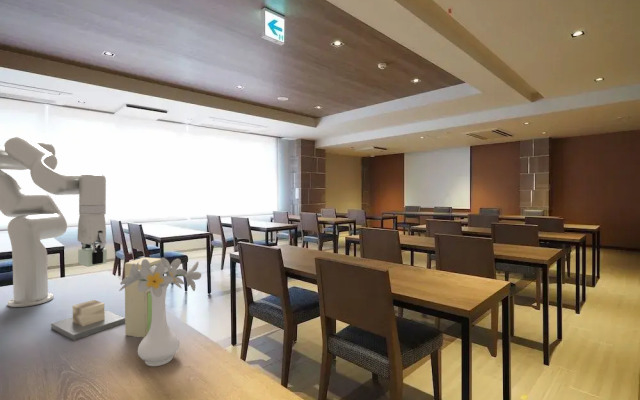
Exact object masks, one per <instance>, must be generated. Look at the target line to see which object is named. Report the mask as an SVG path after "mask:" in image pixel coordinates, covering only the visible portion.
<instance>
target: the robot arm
mask: <svg viewBox="0 0 640 400" xmlns="http://www.w3.org/2000/svg"><path fill="white" fill-rule="evenodd" d="M57 165H58V159H57V157H56V150H55V147H54V145H53V144H52V143H51V142H50V141H47V140H45V139H39V138H33V137H32V138H31V137H23V136H16V137H12V138H8V139H7V140H6V142H4V145H3V146H1V145H0V212H1V213H2V214H3V215H4V216H6V217H9V218H10V217H11V218H12V219H11V220H10V221H9V222H8V225H7V234H8V237H9V240H10V244H11V256H12V257H11V258H12V284H13V285H12V286H13V292H12V293H13V298H10V299H9V300H8V301H7V306H8V307H11V308H23V307H24V308H25V307H31V306H37V305H40V304H44V303H47V302H49V301H50V302H51V301H52V300H53V299H54V294H53V293H52V292H51V293H50V292H49V283H48V282H49V281H48V279H49V278H48V277H49V276H48V274H49V273H48V271H49V270H48V250H47V248H46V247H45V245H44V244H43V242H41V241H42V240H48V239H52V238H53V239H54V238H58V237H61V236H63V235H64V234H65V233H66V231H67V229H68V224H67V223H68V222H67V220H66V218H65V216H64V215H63V213H62V211H61V209H60V208H59V207H58V205H57V204H56V202H55V201H54V199H53V198H52V196H50V195H49V194H52V195H55V196H63V195H65V196H66V195H67V196H68V195H69V196H71V195H74V196H75V195H78V198H79V199H78V208H79V209H78V213H79V214H78V215H79V218H78V222H77V241H78V242H79V243H80V244H81V249H86V248H93V251H94V252H93V253H92V264H100V263H103V251H104V249H105V247H106V245H107V241H106V240H107V239H106V238H107V226H106V224H107V223H106V217H105V215H106V214H107V213H106V211H107V208H106V207H107V205H106V204H107V199H106V198H107V194H106V192H107V191H106V190H107V188H106V187H107V186H106V185H107V184H106V183H107V179H106V176H105V175H103V174H99V173H81V172H67V171H66V172H65V171H57V170H55V169H56V167H58V166H57ZM3 170H11V171H12V170H13V171H14V170H15V171H23V170H29V171H30V176H31V180H32V181H33V183H34V184H35V185H36V186H37V187H39V188H41V190H43V191H41V190H25V189H23V188H22V187H20V185H19V183H18V182H17V181H16V179H15V178H14V177H12V176H11V175H9V174H8V173H7V172H5V171H3ZM44 191H45V192H44ZM46 192H47V193H46ZM48 193H49V194H48ZM96 247H97V248H96ZM100 265H101V264H100Z"/></svg>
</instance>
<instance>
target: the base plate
mask: <svg viewBox="0 0 640 400" xmlns="http://www.w3.org/2000/svg"><path fill="white" fill-rule="evenodd" d="M104 316H105V320H101V321H98V322H95V323H92V324H89V325H86V326H81V325H78V324H76V323H74V322H73V316H71V317H69V318H65V319H62V320H59V321H56V322H51V324H50V325H51V326H50V327H51V330H53V331H56V333H59V334H61V335H62V336H65V337H67V338H69V339H71V340H72V341H75V340H78V339H81V338H84V337H87V336H90V335H94V334H96V333H99V332H102V331H105V330H108V329H111V328H114V327H116V326H120V325H123V324H125V317H124V316H121V315H119V314H116V313H114V312H111V311H108V310H105V309H104Z"/></svg>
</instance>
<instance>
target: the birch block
mask: <svg viewBox="0 0 640 400" xmlns="http://www.w3.org/2000/svg"><path fill="white" fill-rule="evenodd" d="M104 310H105V303H104V302H102V301H98V300H95V299H93V300H89V301H85V302H80V303H78V304H73V305H72V317H73V322H74V323H76V324H78V325H81V326H86V325H89V324H92V323H95V322H98V321H101V320H105V316H104Z"/></svg>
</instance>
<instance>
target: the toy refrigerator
mask: <svg viewBox="0 0 640 400" xmlns="http://www.w3.org/2000/svg"><path fill="white" fill-rule="evenodd" d="M144 259H146V260H148V261H149V263H150V266H151V267H152V266H154V265H155V264H157V263H161V257H147V256H146V257H141V258H137V259H134V260H131V261H128V262H125V263H124V278H126V277H127V276H130V270H131V267H132V265H133V264H135V267H136V265H137V263H138V262H139V263H138V270H141V269H142V267H141V263H142V261H143V260H144ZM161 264H162V263H161ZM162 276H164V274H163V275H162ZM162 276H161V277H162ZM138 282H139V280H137V281H135V282H134V283H132V284H130V285H128V286H127V287H125V288H124V316H125V317H124V318H125V323H124V327H125V329H124V330H125V331H124V332H125V335H126V336H127V337H128V336H129V337H138V338H144V337H145V336H146V335H147V334H148V332H149V329H150V326H151V320H152V297H151V292H150V289H148V290H146V291H143V292H139V291H138V290H137V288H138ZM126 284H127V283H126Z"/></svg>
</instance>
